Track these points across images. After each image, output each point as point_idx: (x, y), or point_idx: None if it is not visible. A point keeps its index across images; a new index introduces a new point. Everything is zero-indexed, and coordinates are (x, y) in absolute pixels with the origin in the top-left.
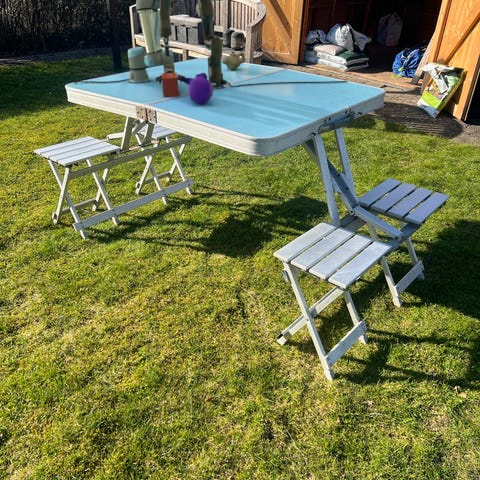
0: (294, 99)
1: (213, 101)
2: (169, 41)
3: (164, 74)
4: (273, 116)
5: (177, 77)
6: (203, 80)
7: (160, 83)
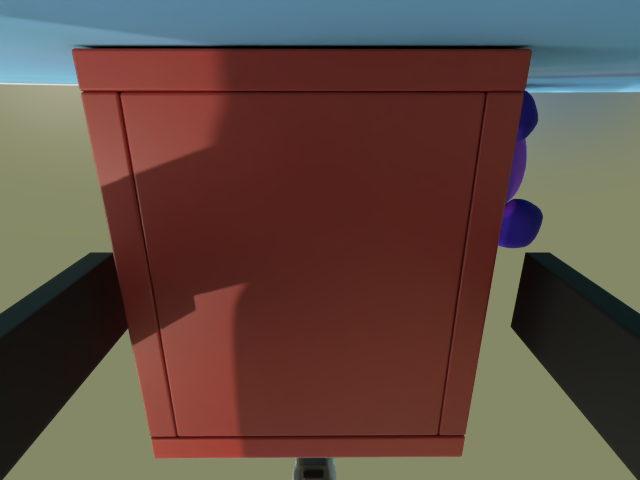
0: None
1: (549, 86)
2: (335, 471)
3: None
4: (574, 91)
5: None
6: None
7: (97, 258)
